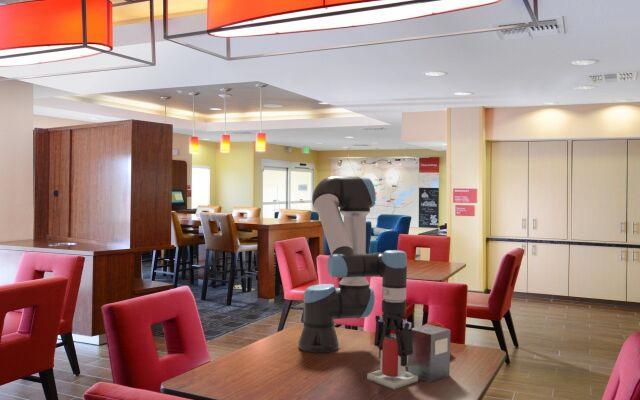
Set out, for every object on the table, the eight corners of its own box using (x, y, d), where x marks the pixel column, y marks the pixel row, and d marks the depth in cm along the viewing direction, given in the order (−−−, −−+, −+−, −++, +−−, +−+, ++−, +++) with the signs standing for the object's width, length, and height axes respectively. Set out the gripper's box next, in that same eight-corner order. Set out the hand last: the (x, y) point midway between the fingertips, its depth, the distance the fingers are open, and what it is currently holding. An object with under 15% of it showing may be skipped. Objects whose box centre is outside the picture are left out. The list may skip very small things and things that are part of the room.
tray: (367, 379, 178) (367, 373, 178) (391, 372, 185) (391, 366, 185) (394, 389, 169) (394, 383, 169) (417, 381, 177) (418, 375, 177)
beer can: (402, 378, 173) (403, 339, 173) (381, 376, 175) (381, 338, 174) (403, 371, 180) (404, 334, 180) (383, 370, 181) (383, 333, 181)
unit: (406, 374, 183) (407, 328, 183) (426, 368, 190) (427, 324, 189) (430, 382, 176) (431, 334, 176) (450, 375, 182) (451, 329, 182)
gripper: (363, 296, 182) (362, 367, 182) (410, 306, 167) (408, 383, 167) (379, 293, 187) (378, 362, 187) (426, 303, 172) (424, 378, 172)
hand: (392, 372), depth 177 cm, fingers closed on beer can, 7 cm apart
